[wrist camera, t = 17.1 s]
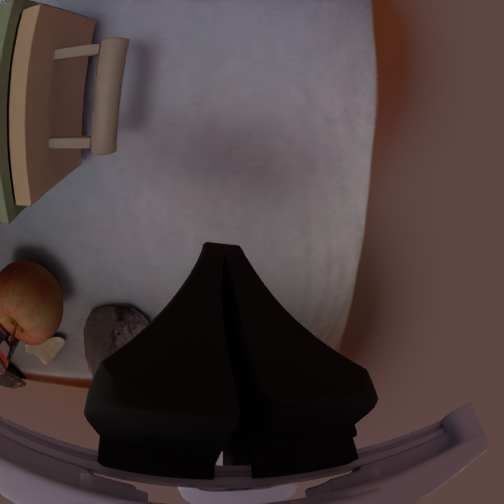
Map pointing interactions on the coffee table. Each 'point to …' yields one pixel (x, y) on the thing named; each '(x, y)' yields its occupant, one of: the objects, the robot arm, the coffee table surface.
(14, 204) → the cabinet
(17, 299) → the apple
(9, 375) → the decorative plaque
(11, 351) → the supplement bottle
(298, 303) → the coffee table surface
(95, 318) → the mineral rock
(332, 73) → the coffee table surface
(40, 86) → the drawer
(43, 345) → the stone tool
